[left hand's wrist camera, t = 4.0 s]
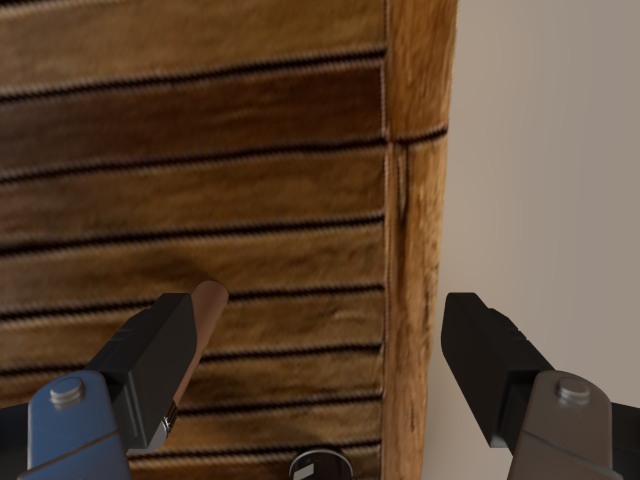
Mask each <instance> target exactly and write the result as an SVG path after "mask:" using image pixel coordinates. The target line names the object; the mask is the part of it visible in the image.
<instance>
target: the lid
mask: <svg viewBox="0 0 640 480" xmlns="http://www.w3.org/2000/svg"><path fill="white" fill-rule="evenodd" d="M177 414H178V412H177V407H176V403H175V401H174V400H173V399H172V401H171V403H170V405H169V407H168V409H167V411H166V413H165V415H164V417H163V419H162V421H161V423H160V425H159V427H158V429H157V431H156V433H155V435H154V437H153V439H152V441H151V443H150V445H149V446H148V448H147V449H129V450H128V451H127V452H128V453H133V454H145V453H149V452H152V451H155V450H157V449H158V448H159V447H161V446H162V444H163V443H164V441H165V440H166V439H167V437H168V435H169V433H170V431H171V429H172V427H173V425H174V423H175V421H176V418H177V417H176V416H177Z"/></svg>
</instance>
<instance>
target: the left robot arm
mask: <svg viewBox="0 0 640 480" xmlns="http://www.w3.org/2000/svg"><path fill="white" fill-rule="evenodd" d="M441 347H442V352H443V355H444V357H445V359H446V361H447V363H448V365H449V367H450V369H451V371H452V373H453V375H454V377H455V379H456V381H457V383H458V385H459V387H460V389H461V391H462V393H463V395H464V397H465V399H466V401H467V403H468V405H469V407H470V409H471V411H472V413H473V415H474V417H475V419H476V421H477V423H478V425H479V427H480V429H481V431H482V433H483V435H484V437H485V439H486V441H487V443H488V445H489V447H490V448H509V450H510V452H511V454H512V455H513V459H512V463H511V467H510V470H509V474H508V477H507V480H640V408H635V407H631V406H627V405H622V404H618V403H613V402H610V400H609V398H608V397H607V395H606V394H605V393H604V392H603V391H602V390H601V389H600V388H598V387H597V386H596V385H594V384H593V383H591V382H589V381H588V380H586V379H584V378H582V377H580V376H577V375H574V374H571V373H568V372H564V371H558V370H555V369H554V368H553V367H552V366H551V364H550V363H549V362H548V361H547V360H546V359H545V358H544V357H543V356H542V355H541V353H540V352H539V351H538V350H537V349H536V348H535V347H534V346H533V345H532V343H531V342H530V341H529V340H526V337H525V336H524V335H523V333H522V332H521V331H518V328H517V327H516V326H515V325H514V324H513V322H512V321H511V320H510V319H509V318H508V317H506V316H505V315H503V314H501V313H500V312H498V311H496V310H495V309H493V308H488V307H487V306H486V305H485V304H484V303H483V302H482V300H481V299H480V298H479V297H478V296H477V295H476V294H475V293H449V294H448V295H447V297H446V303H445V310H444V317H443V324H442V331H441ZM196 349H197V331H196V324H195V317H194V310H193V302H192V298H191V295H190V294H189V293H163V294H162V295H161V296H160V297H159V298H158V300H157V301H156V302H155V303H154V304H153V305H152V307H151V308H150V309H144V310H142V311H141V312H139V313H137V314H136V315H134V316H133V317H131V318H129V319H128V320H127V322H126V323H125V324H124V325H123V326H122V327H121V328H120V329H119V332H117V333H116V334H115V335H114V336H113V337H112V338H111V341H108V342H107V344H106V345H105V346H104V347H103V348H102V349H101V350H100V351H99V352H98V353H97V355H96V356H95V357H94V358H93V359H92V360H91V361H90V362H89V363H88V364H87V365H86V367H85V368H84V369H83V370H82V371H76V372H72V373H69V374H66V375H63V376H60V377H58V378H56V379H54V380H52V381H51V382H49V383H47V384H46V385H44V386H43V387H42V388H40V389H39V390H38V391H37V392H36V393H35V394H34V395H33V397H32V398H31V400H30V402H29V403H25V404H20V405H16V406H11V407H7V408H2V409H0V480H133V477H132V474H131V470H130V467H129V463H128V459H127V456H126V453H127V451H128V450H129V449H147V448H148V446H149V445H150V443H151V441H152V439H153V437H154V435H155V433H156V431H157V429H158V427H159V425H160V423H161V421H162V419H163V417H164V415H165V413H166V411H167V409H168V407H169V405H170V403H171V401H172V399H173V397H174V395H175V393H176V391H177V389H178V387H179V386H180V384H181V382H182V380H183V378H184V376H185V374H186V372H187V370H188V368H189V366H190V364H191V362H192V360H193V358H194V356H195V353H196ZM289 475H290V480H352V465H351V462H350V460H349V459H348V457H347V456H346V455H345V454H343V453H342V452H340V451H339V450H336V449H334V448H330V447H312V448H308V449H306V450H303V451H301V452H300V453H298V454H297V455H296V456H295V457H294V458H293V460H292V462H291V464H290V472H289Z"/></svg>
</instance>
